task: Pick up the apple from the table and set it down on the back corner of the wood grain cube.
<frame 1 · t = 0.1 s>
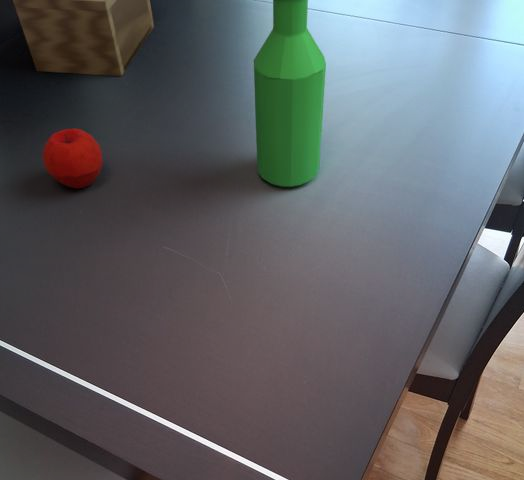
wood grain cube: (98, 48, 107), on the table
bottle: (287, 173, 81), on the table
apple: (81, 182, 81), on the table
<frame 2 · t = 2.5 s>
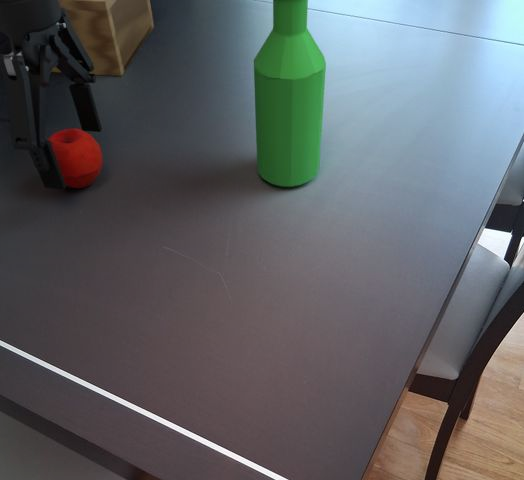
hand: (75, 157, 78), 4 cm above the table, tool pointing down, fingers open, 13 cm apart
nothing on the table moved.
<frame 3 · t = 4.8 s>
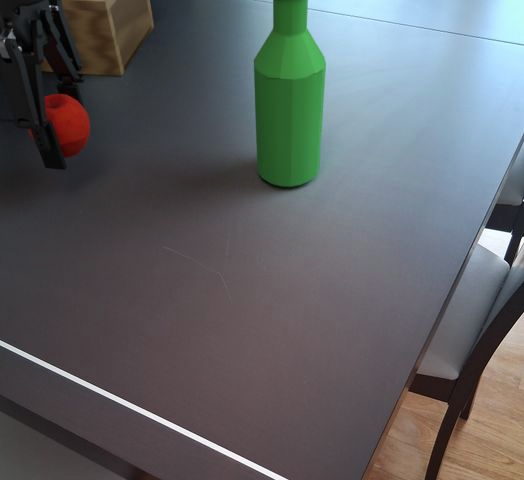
hand: (68, 148, 77), 5 cm above the table, tool pointing down, fingers closed on apple, 8 cm apart
apple: (68, 151, 77), point 5 cm above the table, touching gripper
everything else where it was.
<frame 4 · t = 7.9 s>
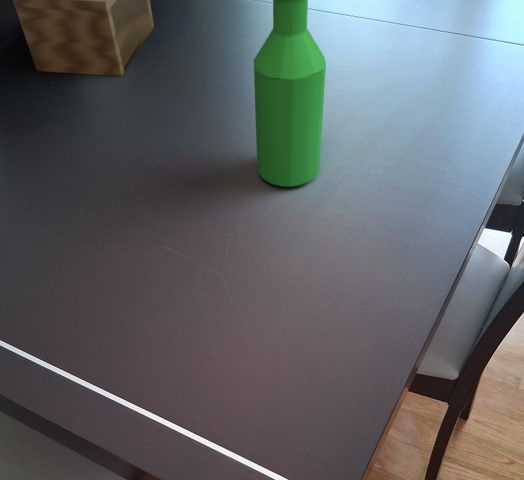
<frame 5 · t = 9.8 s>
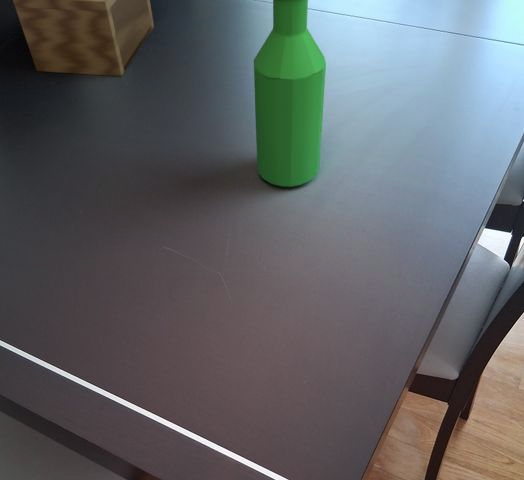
when the fingers open (12 cm above the table, at t = 11.2 s): apple stays where it is, resting on wood grain cube.
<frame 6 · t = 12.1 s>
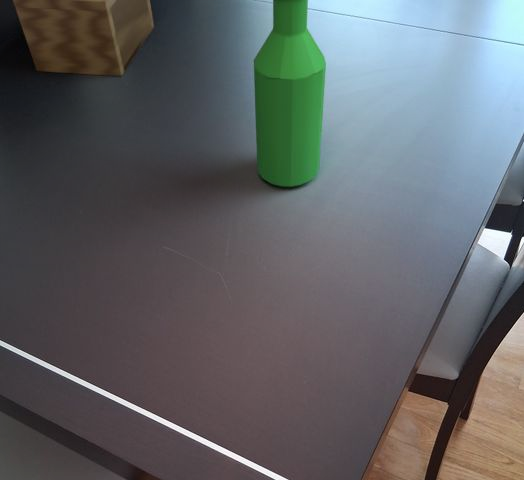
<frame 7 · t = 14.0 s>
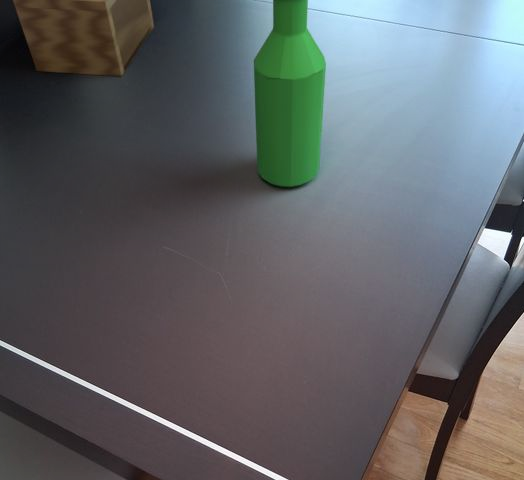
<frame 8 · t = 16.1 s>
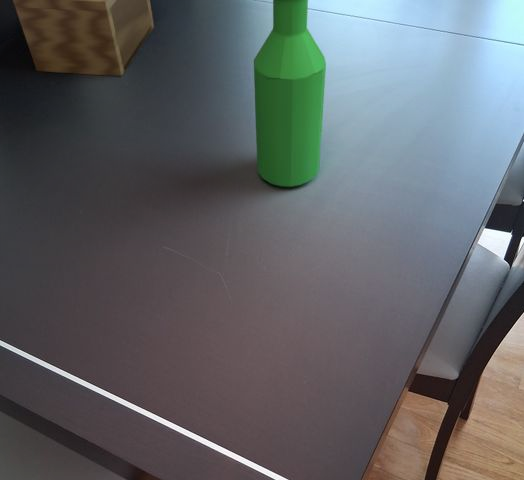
at the end: apple inside the target area on the wood grain cube (1.6 cm from its centre), point 11.8 cm above the wood grain cube's base; the gripper is holding nothing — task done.
